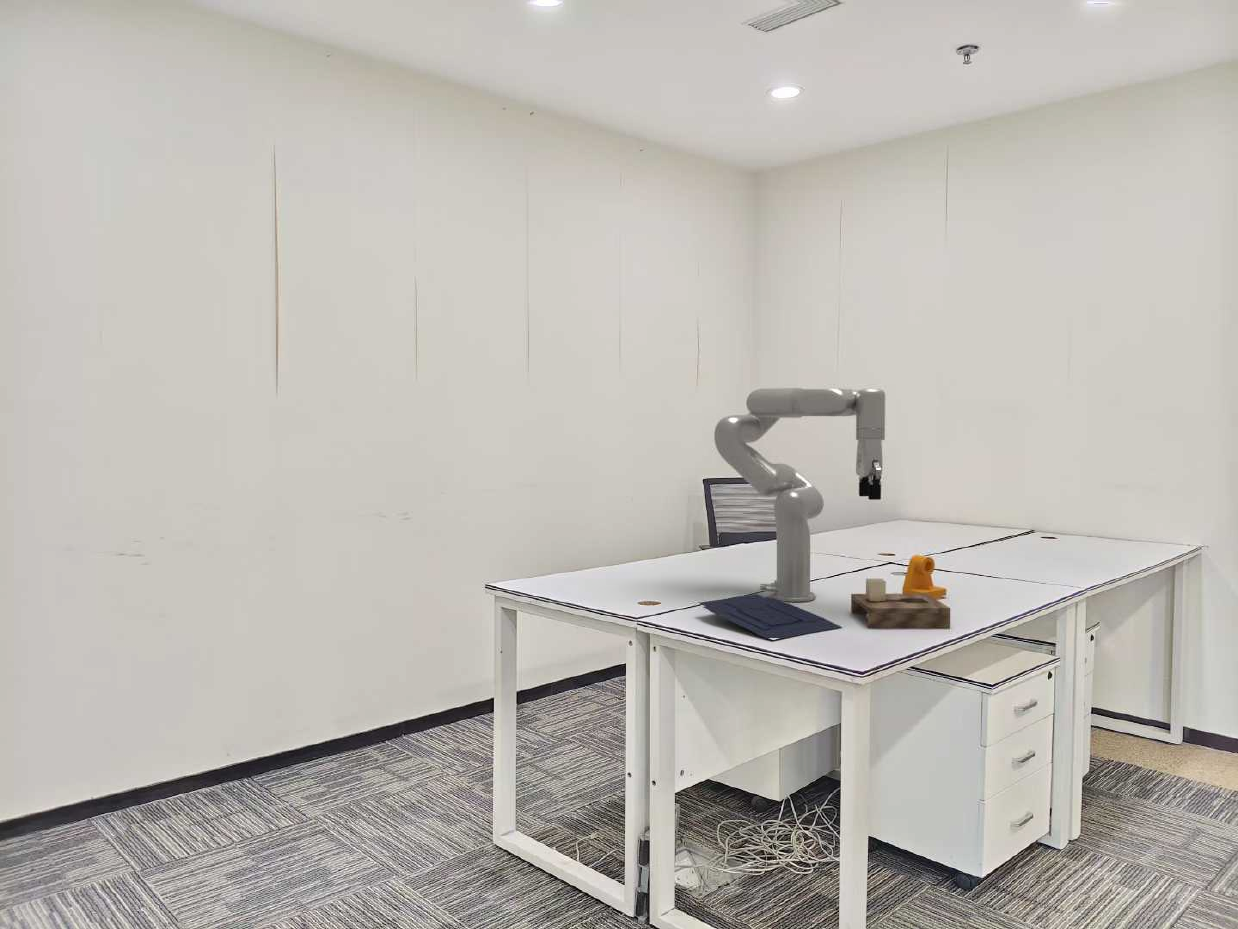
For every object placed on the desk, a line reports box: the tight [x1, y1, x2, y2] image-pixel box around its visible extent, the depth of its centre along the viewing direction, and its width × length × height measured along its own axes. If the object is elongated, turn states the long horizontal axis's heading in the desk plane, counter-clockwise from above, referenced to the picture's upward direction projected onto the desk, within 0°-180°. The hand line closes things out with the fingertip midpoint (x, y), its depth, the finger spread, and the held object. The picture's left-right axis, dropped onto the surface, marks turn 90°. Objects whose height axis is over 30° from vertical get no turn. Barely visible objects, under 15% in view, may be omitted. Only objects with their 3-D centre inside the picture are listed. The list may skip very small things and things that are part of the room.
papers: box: [699, 593, 842, 640], centre depth 228 cm, size 24×30×4 cm
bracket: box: [901, 554, 947, 601], centre depth 258 cm, size 11×7×12 cm, turn 122°
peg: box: [865, 578, 887, 621], centre depth 230 cm, size 4×4×10 cm
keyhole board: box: [850, 593, 951, 629], centre depth 230 cm, size 20×18×5 cm
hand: (869, 497), depth 243 cm, fingers open, 9 cm apart
